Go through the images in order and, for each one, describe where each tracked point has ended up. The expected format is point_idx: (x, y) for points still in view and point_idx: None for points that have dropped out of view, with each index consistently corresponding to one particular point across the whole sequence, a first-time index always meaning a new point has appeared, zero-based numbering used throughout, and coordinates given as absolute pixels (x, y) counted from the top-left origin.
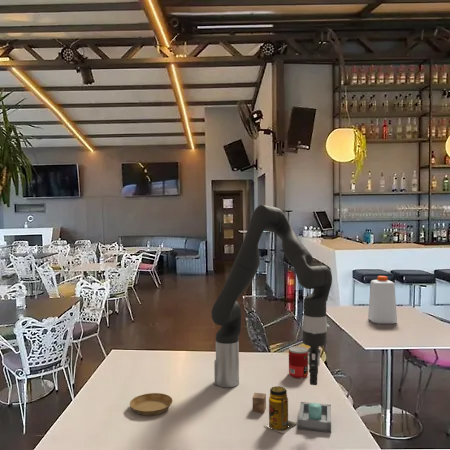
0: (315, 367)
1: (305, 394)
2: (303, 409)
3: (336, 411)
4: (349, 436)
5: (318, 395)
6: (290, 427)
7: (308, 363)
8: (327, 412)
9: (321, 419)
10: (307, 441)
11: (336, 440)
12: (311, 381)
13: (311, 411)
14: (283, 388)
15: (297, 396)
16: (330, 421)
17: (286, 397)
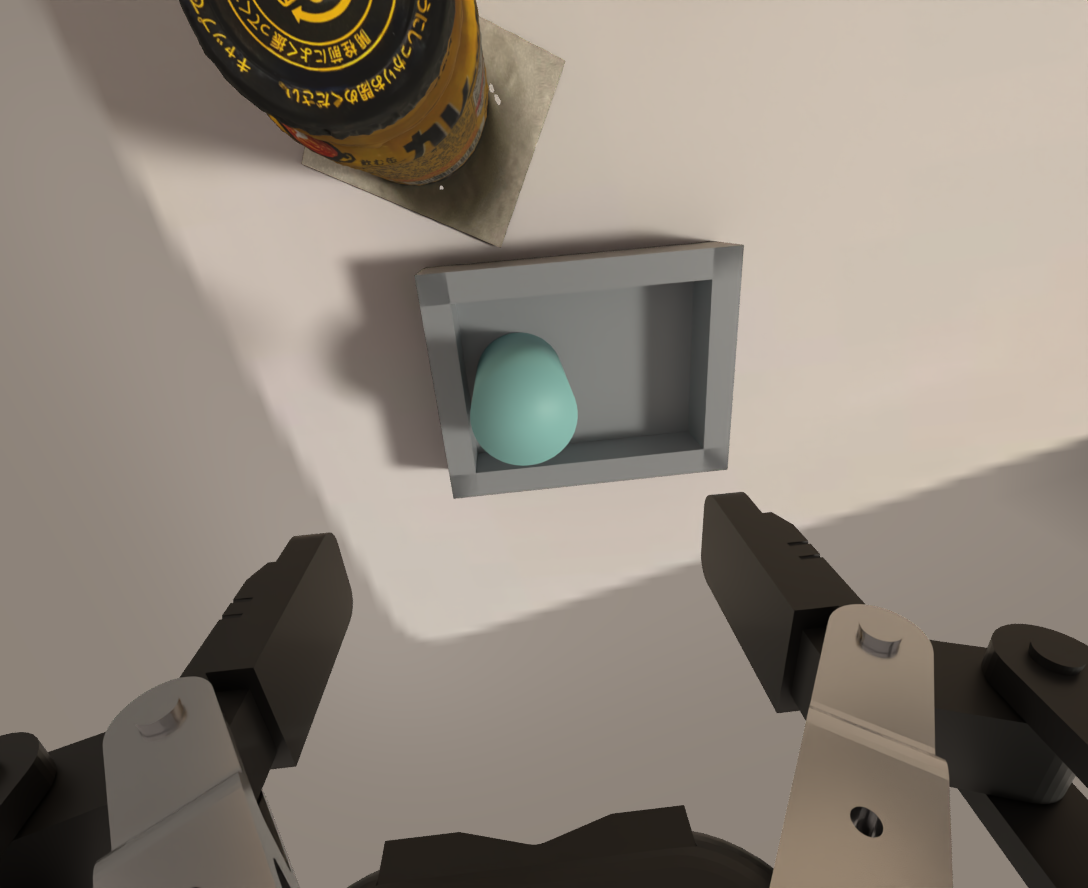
0: (749, 618)
1: (1000, 235)
2: (609, 288)
3: (738, 471)
4: (454, 556)
5: (977, 336)
6: (416, 206)
7: (100, 864)
8: (599, 462)
9: (577, 408)
10: (291, 352)
11: (382, 503)
12: (244, 592)
13: (476, 385)
14: (376, 64)
15: (966, 172)
16: (473, 493)
17: (355, 146)
